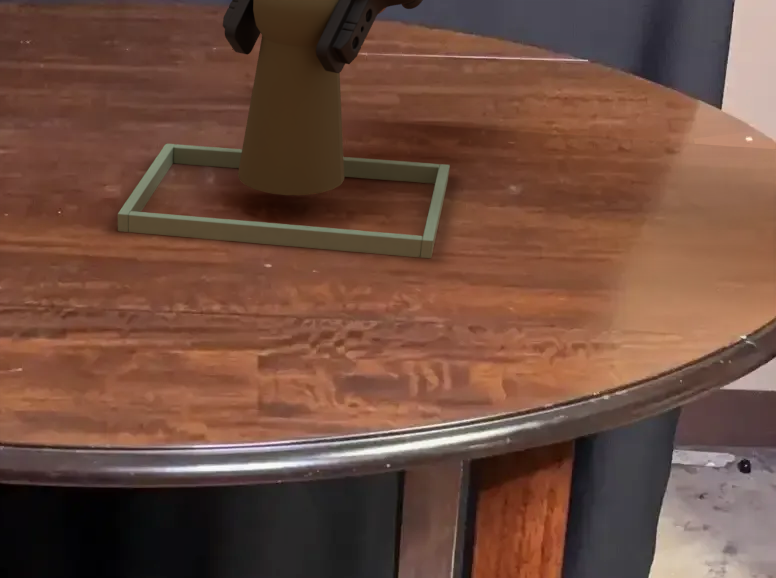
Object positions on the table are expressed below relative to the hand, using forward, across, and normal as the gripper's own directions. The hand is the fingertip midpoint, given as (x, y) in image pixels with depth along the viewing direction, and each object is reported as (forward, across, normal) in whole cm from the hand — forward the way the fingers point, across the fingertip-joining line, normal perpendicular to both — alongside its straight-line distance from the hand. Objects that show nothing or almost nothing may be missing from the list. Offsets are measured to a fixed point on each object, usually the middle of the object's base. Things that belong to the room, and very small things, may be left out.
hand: (280, 53), depth 81 cm
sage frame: (+6, 0, -8) cm, 10 cm away
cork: (+4, 0, -6) cm, 8 cm away
